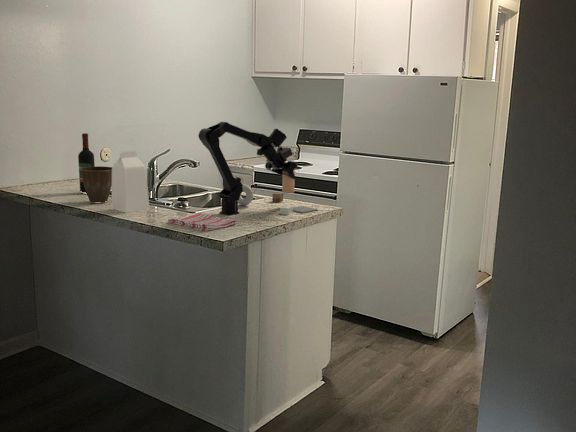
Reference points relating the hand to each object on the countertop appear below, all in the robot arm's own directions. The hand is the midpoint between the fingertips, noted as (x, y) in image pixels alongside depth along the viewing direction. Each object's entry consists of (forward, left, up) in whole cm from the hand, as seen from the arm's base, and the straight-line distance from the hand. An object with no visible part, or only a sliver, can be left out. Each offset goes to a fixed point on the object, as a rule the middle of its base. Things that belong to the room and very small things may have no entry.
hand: (291, 177), depth 280 cm
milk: (-61, +39, -14) cm, 74 cm away
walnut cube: (+4, +13, -13) cm, 19 cm away
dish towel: (-54, -5, -14) cm, 56 cm away
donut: (-16, +15, -14) cm, 26 cm away
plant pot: (-64, +63, -14) cm, 91 cm away
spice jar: (-1, 0, -7) cm, 7 cm away
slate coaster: (-2, -10, -13) cm, 17 cm away
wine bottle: (-57, +89, -14) cm, 107 cm away
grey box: (-12, -10, -14) cm, 21 cm away
